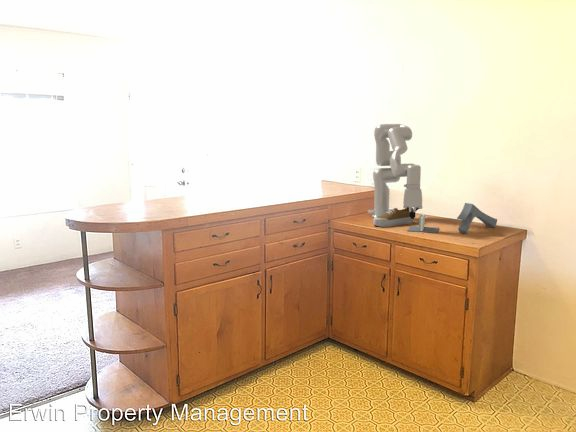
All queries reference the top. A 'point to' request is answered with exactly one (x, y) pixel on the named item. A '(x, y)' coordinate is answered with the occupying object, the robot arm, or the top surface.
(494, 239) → the top surface
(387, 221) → the sneaker
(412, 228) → the mat
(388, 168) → the robot arm
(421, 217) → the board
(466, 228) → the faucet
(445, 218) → the top surface
